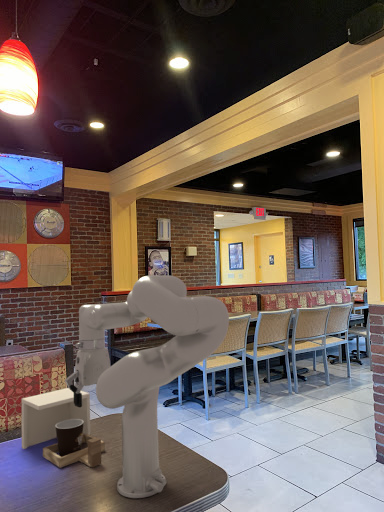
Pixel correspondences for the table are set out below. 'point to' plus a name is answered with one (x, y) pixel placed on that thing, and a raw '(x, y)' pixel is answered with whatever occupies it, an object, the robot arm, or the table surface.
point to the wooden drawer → (77, 453)
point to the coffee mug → (69, 436)
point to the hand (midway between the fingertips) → (92, 402)
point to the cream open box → (51, 415)
